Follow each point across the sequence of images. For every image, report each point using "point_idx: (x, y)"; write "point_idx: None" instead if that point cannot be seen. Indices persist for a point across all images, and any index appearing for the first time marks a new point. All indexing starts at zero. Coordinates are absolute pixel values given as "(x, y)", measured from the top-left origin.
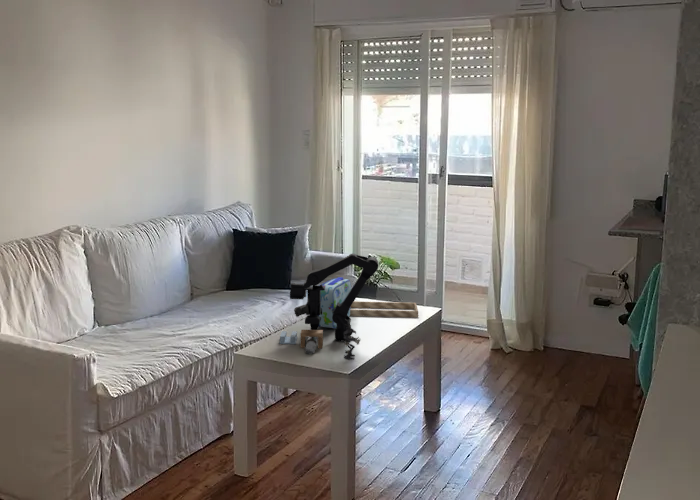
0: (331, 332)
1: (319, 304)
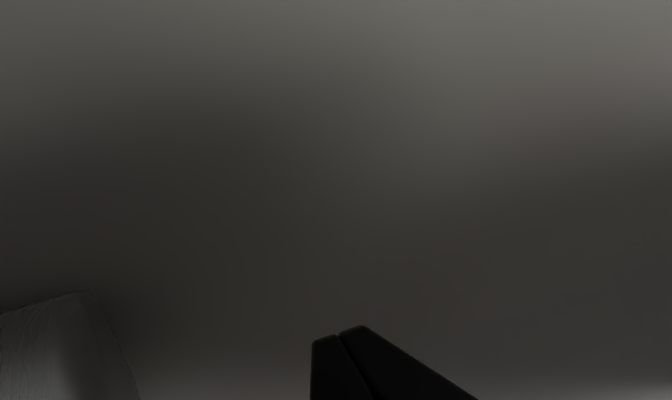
0: (663, 375)
1: None
